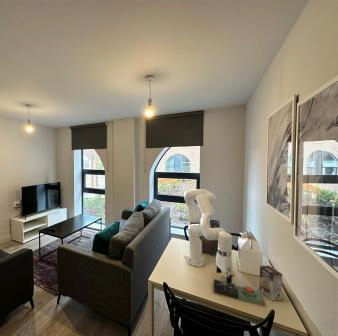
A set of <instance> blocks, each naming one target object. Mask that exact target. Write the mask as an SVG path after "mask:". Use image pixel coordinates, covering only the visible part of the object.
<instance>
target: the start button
mask: <svg viewBox="0 0 338 336" xmlns="http://www.w3.org/2000/svg"><path fill="white" fill-rule="evenodd" d="M244 287H245V291H247V292H249V293H253V289H254V288H253V287H251V286H250V285H246V286H244Z"/></svg>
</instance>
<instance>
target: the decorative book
mask: <svg viewBox="0 0 338 336" xmlns="http://www.w3.org/2000/svg"><path fill="white" fill-rule="evenodd" d="M209 221H210V228H221V227H220V226H221V222H220V220H219V219H209ZM189 222H190V221H189ZM192 224H200V222H190V223H189V226H190V225H192ZM199 238H200V240H201V241H202V254H203V255H209V256H211V257H216V255H217V251H218V240H207V239H206V238H205V237H204V236H200V237H199Z"/></svg>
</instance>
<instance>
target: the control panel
mask: <svg viewBox="0 0 338 336" xmlns="http://www.w3.org/2000/svg"><path fill="white" fill-rule="evenodd" d="M213 292H214V294H217V295H221V296H225V297H229V298H232V299H238V294H237V290H236V284H235V283H233V282H232V283H228V288H223V287H222V286H221V280H218V279H213Z"/></svg>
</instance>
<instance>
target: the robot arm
mask: <svg viewBox="0 0 338 336" xmlns="http://www.w3.org/2000/svg"><path fill="white" fill-rule="evenodd" d="M183 198H184V199H183V200H184V202H185V205H186V212H187V219H188V221H189V222H200V224H192V225H190V224H189V225H188V227H187V234H188V255H186V254H183V258H184V259H185V260H186V262H187V263H188V264H189V265H191V266H193V267H199V268H201V267H203V266H204V265H205V262H204V260H203V253H202V241H201V240H200V238H199V237H200V236H204V237H205V238H206V239H207V240H218V251H217V255H216V256H215V258H214V261H215V267H216V273H217V274H222V273H224V274H226V276H225V277H226V282H227V283H232V284H233V278H234V277H235V274H236V273H235V272H234V270H233V259H232V254H233V253H232V252H233V251H232V250H233V236H232V234H231V233H229V232H227V231H226V230H225V229H224V228H223V227H220V228H210V221H209V220H210V218H211V217H212V216H214V215H215V214H216V212H215V209H214V207H213V205H216V204H217V202H218V197H217V196H216V195H215V194H214V193H212V192H211V191H209V190H208V189H204V188H199V189H197V188H195V189H187V190H185V191H184V194H183Z"/></svg>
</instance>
